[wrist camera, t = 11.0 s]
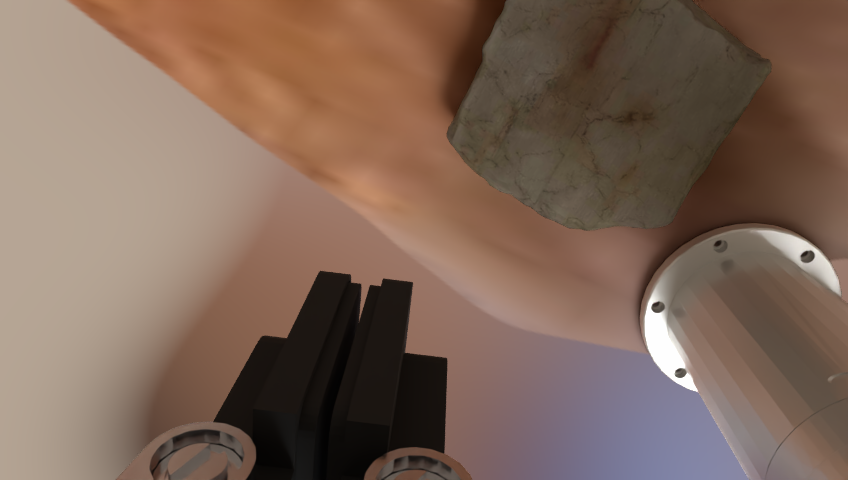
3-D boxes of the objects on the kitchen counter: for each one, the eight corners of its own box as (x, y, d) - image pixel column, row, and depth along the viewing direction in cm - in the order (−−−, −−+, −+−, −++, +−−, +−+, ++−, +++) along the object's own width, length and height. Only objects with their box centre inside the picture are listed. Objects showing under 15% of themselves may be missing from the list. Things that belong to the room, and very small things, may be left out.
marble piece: (568, -129, 34) (582, -144, 30) (791, 4, 36) (832, 7, 32) (427, 143, 40) (424, 160, 36) (625, 244, 42) (643, 271, 38)
